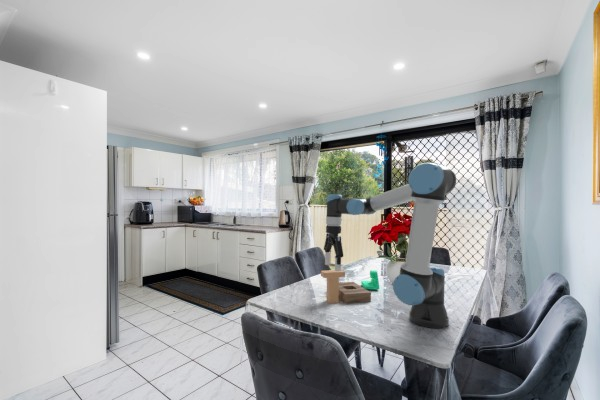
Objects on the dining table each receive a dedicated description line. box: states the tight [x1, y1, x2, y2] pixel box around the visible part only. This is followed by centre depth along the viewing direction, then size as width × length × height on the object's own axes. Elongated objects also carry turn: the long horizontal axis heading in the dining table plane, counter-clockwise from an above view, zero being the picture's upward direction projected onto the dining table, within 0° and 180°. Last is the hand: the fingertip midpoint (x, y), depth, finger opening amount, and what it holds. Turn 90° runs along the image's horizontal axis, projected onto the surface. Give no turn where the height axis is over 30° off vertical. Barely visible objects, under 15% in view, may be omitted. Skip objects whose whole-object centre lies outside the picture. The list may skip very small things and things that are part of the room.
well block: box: [338, 281, 372, 304], centre depth 151 cm, size 20×14×4 cm
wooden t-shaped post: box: [320, 269, 346, 304], centre depth 142 cm, size 4×11×15 cm, turn 105°
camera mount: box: [360, 270, 380, 290], centre depth 167 cm, size 12×8×10 cm, turn 0°
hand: (332, 267), depth 142 cm, fingers open, 13 cm apart
